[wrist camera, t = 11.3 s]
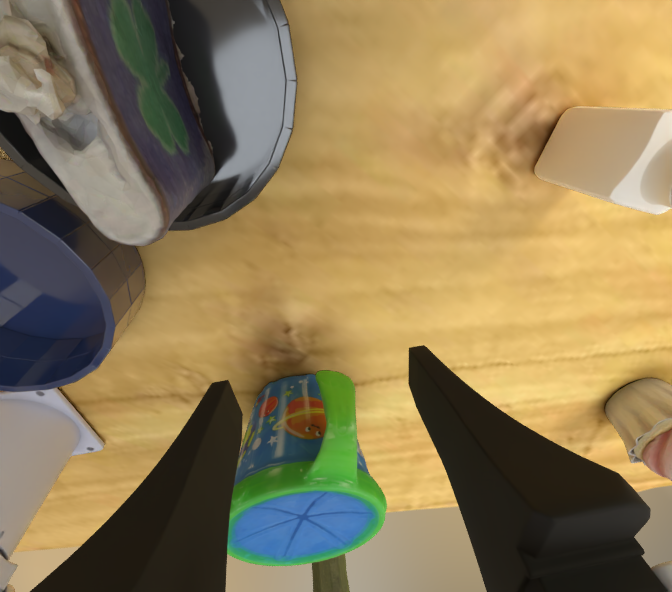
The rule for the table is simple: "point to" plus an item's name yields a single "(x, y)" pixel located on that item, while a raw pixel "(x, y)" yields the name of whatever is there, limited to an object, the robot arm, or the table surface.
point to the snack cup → (303, 476)
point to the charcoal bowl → (215, 102)
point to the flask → (107, 108)
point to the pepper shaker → (613, 156)
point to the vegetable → (330, 575)
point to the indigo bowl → (58, 287)
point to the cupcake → (645, 423)
